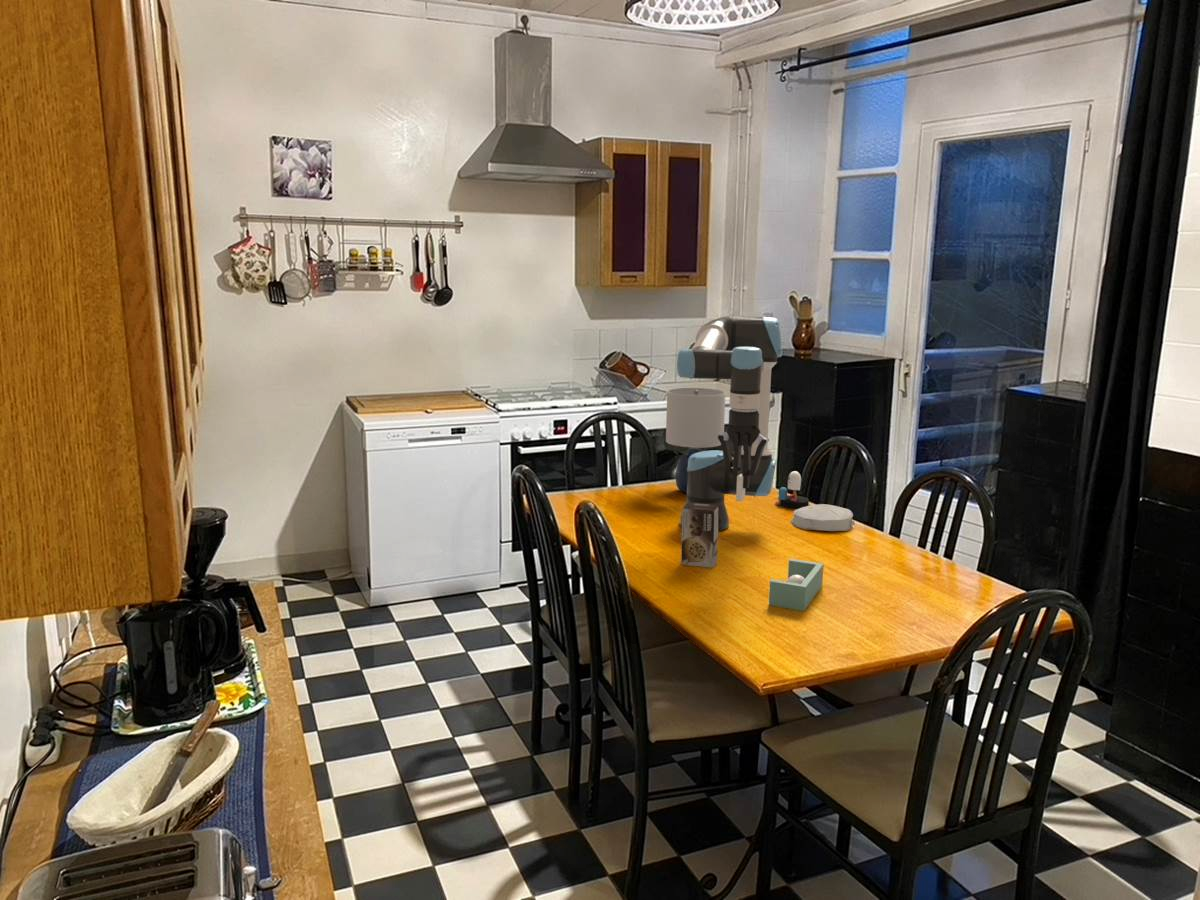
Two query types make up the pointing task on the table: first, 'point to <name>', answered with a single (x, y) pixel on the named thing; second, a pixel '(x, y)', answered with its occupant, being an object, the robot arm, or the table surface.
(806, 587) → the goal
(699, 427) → the lamp
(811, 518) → the food container
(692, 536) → the coffee box
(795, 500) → the figurine
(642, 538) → the table surface
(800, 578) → the ball
